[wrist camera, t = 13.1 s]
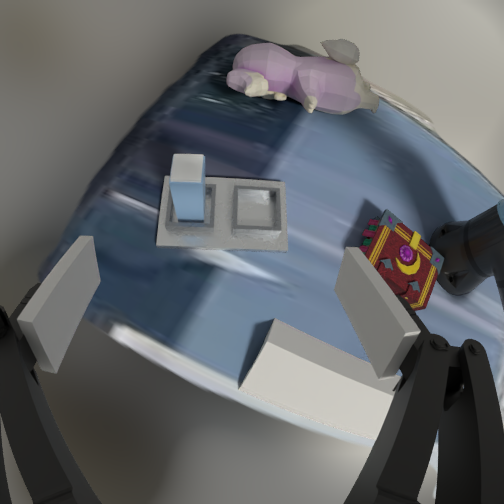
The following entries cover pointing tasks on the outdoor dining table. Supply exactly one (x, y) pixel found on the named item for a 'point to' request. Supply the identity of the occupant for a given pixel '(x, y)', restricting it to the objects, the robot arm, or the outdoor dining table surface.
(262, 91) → the toy
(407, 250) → the decorative book
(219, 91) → the outdoor dining table surface
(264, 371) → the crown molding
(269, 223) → the panel
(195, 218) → the plug
